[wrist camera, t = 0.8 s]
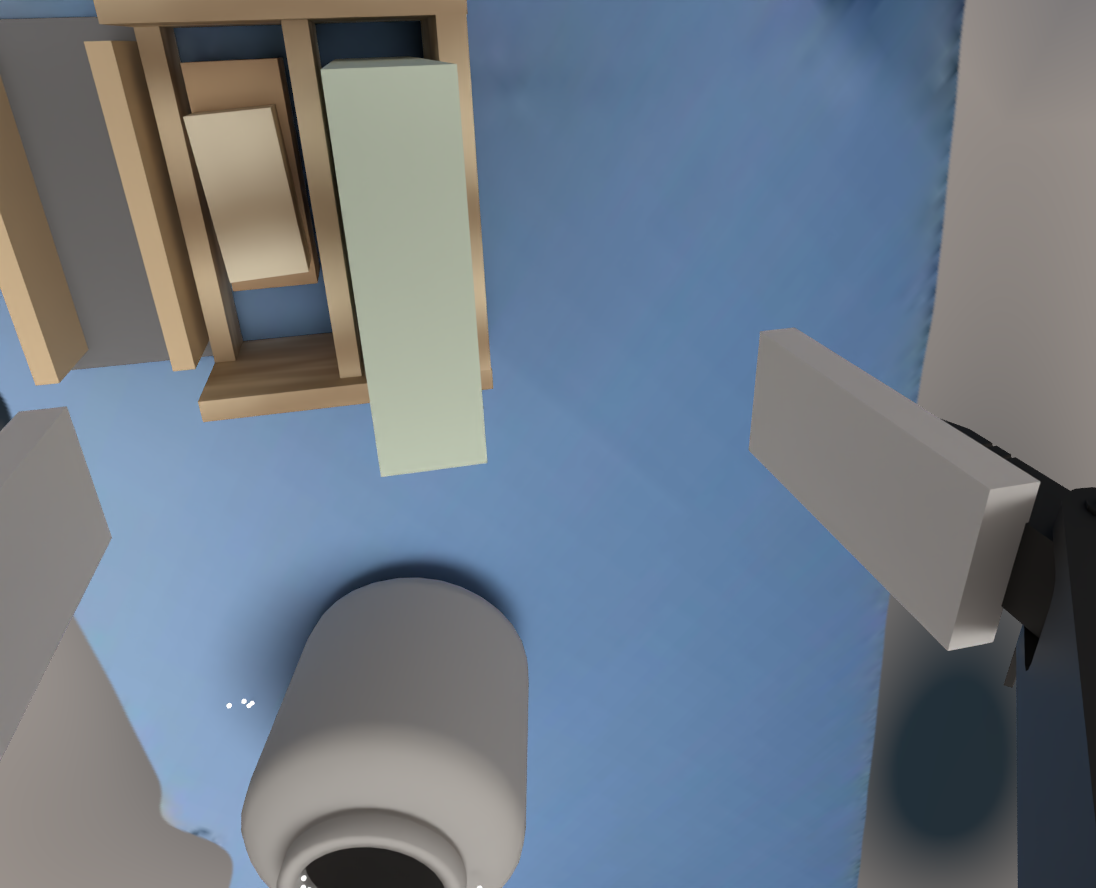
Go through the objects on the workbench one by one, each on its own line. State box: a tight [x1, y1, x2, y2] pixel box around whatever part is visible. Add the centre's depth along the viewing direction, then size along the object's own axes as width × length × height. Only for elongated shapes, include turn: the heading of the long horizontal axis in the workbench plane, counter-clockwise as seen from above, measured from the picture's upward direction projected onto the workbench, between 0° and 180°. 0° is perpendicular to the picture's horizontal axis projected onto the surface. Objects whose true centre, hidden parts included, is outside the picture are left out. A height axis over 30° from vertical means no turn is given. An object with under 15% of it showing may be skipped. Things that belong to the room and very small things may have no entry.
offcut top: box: [183, 104, 311, 283], centre depth 35 cm, size 7×4×2 cm, turn 5°
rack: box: [93, 0, 493, 422], centre depth 36 cm, size 17×13×8 cm
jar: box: [227, 578, 529, 888], centre depth 43 cm, size 19×15×25 cm
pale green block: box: [320, 56, 487, 477], centre depth 32 cm, size 12×4×20 cm, turn 2°
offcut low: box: [180, 58, 320, 291], centre depth 37 cm, size 10×4×4 cm, turn 2°
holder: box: [0, 17, 213, 385], centre depth 36 cm, size 16×7×5 cm, turn 2°
